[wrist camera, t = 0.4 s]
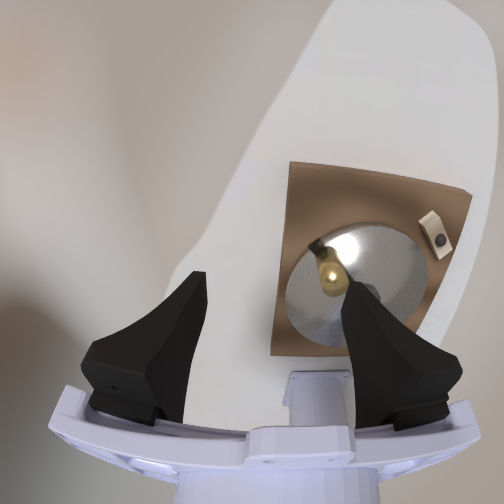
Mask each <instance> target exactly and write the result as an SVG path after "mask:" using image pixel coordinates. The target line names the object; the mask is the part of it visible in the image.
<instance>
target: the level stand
mask: <svg viewBox="0 0 504 504" xmlns="http://www.w3.org/2000/svg"><path fill="white" fill-rule="evenodd" d="M471 200H472V195H471V194H469V193H468V192H466V191H465V190H463V189H459V188H455V187H451V186H447V185H443V184H438V183H434V182H429V181H425V180H420V179H415V178H410V177H405V176H399V175H394V174H388V173H382V172H376V171H370V170H363V169H356V168H348V167H341V166H332V165H323V164H314V163H303V162H291V161H290V165H289V178H288V190H287V201H286V212H285V223H284V233H283V243H282V253H281V262H280V272H279V281H278V289H277V298H276V306H275V315H274V323H273V331H272V338H271V354H270V356H301V357H327V356H350V355H349V351H348V347H332V346H326V345H322V344H318V343H316V342H313V341H311V340H309V339H307V338H306V337H304V336H303V335H301V334H300V333H299V332H298V331H297V330H296V329H295V327H294V326H293V325H292V323H291V321H290V319H289V317H288V313H287V309H286V297H285V291H286V283H287V279H288V276H289V273H290V271H291V269H292V267H293V265H294V263H295V262H296V260H297V259H298V258H299V256H300V255H301V254H302V253H303V252H304V251H305V250H306V249H307V247H308V245H309V244H310V243H312V242H313V241H315V240H316V239H317V238H320V237H322V236H323V235H325V234H326V233H328V232H330V231H332V230H334V229H337V228H340V227H342V226H345V225H349V224H353V223H358V222H381V223H386V224H389V225H392V226H395V227H397V228H399V229H401V230H403V231H404V232H405V233H407V234H408V235H409V236H410V237H411V238H412V239H413V240H414V242H415V243H416V244H417V245H418V247H419V248H420V249H421V251H422V253H423V254H424V256H425V259H426V262H427V267H428V281H427V286H426V290H425V293H424V295H423V298H422V300H421V302H420V304H419V305H418V307H417V308H416V310H415V311H414V312H413V314H412V315H411V316H410V317H409V318H408V319H407V320H406V321H405V322H404V323H403V324H404V325H405V326H406V327H407V328H409V329H410V330H411V331H413V332H414V333H416V332H417V330H418V328H419V326H420V324H421V323H422V321H423V319H424V317H425V315H426V313H427V311H428V309H429V307H430V305H431V303H432V301H433V299H434V297H435V295H436V293H437V291H438V289H439V287H440V285H441V282H442V280H443V278H444V276H445V273H446V271H447V269H448V266H449V264H450V261H451V259H452V256H453V254H454V251H455V249H456V246H457V243H458V240H459V238H460V235H461V232H462V229H463V226H464V223H465V220H466V217H467V213H468V210H469V207H470V203H471Z"/></svg>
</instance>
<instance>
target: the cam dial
mask: <svg viewBox="0 0 504 504" xmlns="http://www.w3.org/2000/svg"><path fill="white" fill-rule="evenodd" d="M350 281H357V282H362V283H363V284H364V285H365V286H366V287H367V288H368V289H369V290H370V292H371V293H372V294H373V295H374V296H375V297H376V298H377V299H378V300H379V301H380V302H381V303H382V304H383V305H384V306H385V307H386V308H387V309H388V310H389V311H390V312H391V313H392V314H393V315H394V316H395V317H396V318H397V319H398V320H399V321H400V322H401V323H404V322H405V321H406V320H407V319H408V318H409V317H410V316H411V315H412V314H413V312H414V311H415V310H416V308H417V307H418V305H419V304H420V302H421V300H422V298H423V295H424V293H425V290H426V286H427V281H428V267H427V262H426V259H425V256H424V254H423V253H422V251H421V249H420V248H419V247H418V245H417V244H416V243H415V242H414V240H413V239H412V238H411V237H410V236H409V235H408V234H407V233H405V232H404V231H403V230H401V229H399V228H397V227H395V226H392V225H389V224H386V223H381V222H358V223H353V224H349V225H345V226H342V227H340V228H337V229H334V230H332V231H330V232H328V233H326V234H325V235H323V236H322V237H320V238H317V239H316V240H315V241H313V242H312V243H310V244H309V245H308V247H307V249H306V250H305V251H304V252H303V253H302V254H301V255H300V256H299V258H298V259H297V260H296V262H295V263H294V265H293V267H292V269H291V271H290V273H289V276H288V279H287V283H286V291H285V297H286V309H287V313H288V317H289V319H290V321H291V323H292V325H293V326H294V327H295V329H296V330H297V331H298V332H299V333H300V334H301V335H303V336H304V337H306V338H307V339H309V340H311V341H313V342H316V343H318V344H322V345H326V346H332V347H347V344H346V340H345V336H344V332H343V328H342V321H341V312H340V311H341V308H342V305H343V302H344V298H345V295H346V292H347V289H348V286H349V282H350Z"/></svg>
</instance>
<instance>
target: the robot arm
mask: <svg viewBox="0 0 504 504" xmlns="http://www.w3.org/2000/svg"><path fill="white" fill-rule="evenodd" d="M207 304H208V301H207V287H206V272H200V271H193V272H192V273H191V274H190V275H189V276H188V277H187V278H186V279H185V280H184V281H183V283H182V284H181V285H180V286H179V287H178V288H177V289H176V290H175V291H174V292H173V293H172V294H171V295H170V296H169V297H168V298H166V299H165V300H164V301H163V302H162V303H161V304H160V305H159V306H157V307H156V308H155V309H154V310H152V311H151V312H150V313H149V314H147V315H146V316H144V317H143V318H141V319H140V320H138V321H137V322H135V323H133V324H132V325H130V326H128V327H126V328H124V329H123V330H120V331H118V332H116V333H114V334H112V335H109V336H107V337H105V338H102V339H99V340H97V341H94V342H93V343H92V345H91V346H90V348H89V349H88V352H87V353H86V356H85V357H84V359H83V361H82V363H81V370H82V372H83V374H84V376H85V377H86V379H87V380H88V382H89V383H90V384H91V386H92V387H93V388H94V391H93V393H92V395H91V394H90V393H88V392H86V391H84V390H81V389H78V388H76V387H73V386H71V385H66V387H65V389H64V391H63V393H62V395H61V397H60V399H59V402H58V404H57V406H56V408H55V410H54V413H53V415H52V417H51V419H50V422H49V424H48V427H49V428H50V429H51V430H52V431H53V432H55V433H56V434H57V435H58V436H60V437H61V438H62V439H63V440H65V441H66V442H67V443H68V444H70V445H71V446H73V447H74V448H76V449H78V450H81V451H83V452H85V453H87V454H90V455H92V456H94V457H97V458H99V459H102V460H104V461H106V462H109V463H112V464H114V465H116V466H119V467H122V468H124V469H127V470H130V471H133V472H136V473H139V474H142V475H145V476H148V477H151V478H154V479H158V480H162V481H165V482H169V483H173V484H177V487H176V493H175V499H174V504H380V496H379V486H378V483H379V482H383V481H386V480H390V479H393V478H397V477H400V476H403V475H406V474H409V473H412V472H415V471H418V470H421V469H423V468H426V467H429V466H431V465H434V464H437V463H439V462H442V461H444V460H447V459H449V458H452V457H454V456H455V455H457V454H458V453H460V452H461V451H463V450H464V449H466V448H467V447H469V446H470V445H472V444H473V443H475V442H476V441H477V440H479V439H480V438H481V434H480V431H479V428H478V425H477V422H476V419H475V416H474V413H473V410H472V408H471V405H470V402H469V400H468V399H465V400H462V401H458V402H455V403H452V404H451V405H449V406H448V405H447V402H446V401H448V399H449V396H448V392H449V391H450V390H451V388H452V387H453V386H454V385H455V384H456V383H457V381H458V380H459V379H460V377H461V375H462V373H463V370H462V367H461V365H460V363H459V361H458V359H457V357H456V356H454V355H452V354H450V353H448V352H445V351H443V350H441V349H439V348H438V347H436V346H434V345H432V344H430V343H429V342H427V341H426V340H424V339H423V338H421V337H420V336H418V335H417V334H415V333H414V332H413V331H411V330H410V329H409V328H407V327H406V326H405V325H404V324H403V323H401V322H400V321H399V320H398V319H397V318H396V317H395V316H394V315H393V314H392V313H391V312H390V311H389V310H388V309H387V308H386V307H385V306H384V305H383V304H382V303H381V302H380V301H379V300H378V299H377V298H376V297H375V296H374V295H373V294H372V293H371V292H370V290H369V289H368V288H367V287H366V286H365V285H364V284H363V283H362V282H357V281H350V282H349V286H348V289H347V292H346V295H345V298H344V302H343V305H342V308H341V311H340V312H341V321H342V328H343V332H344V336H345V340H346V344H347V347H348V351H349V355H350V359H351V364H352V369H353V377H354V387H355V403H356V426H355V429H353V428H351V427H349V426H348V425H347V418H346V411H345V404H344V398H343V392H342V389H343V387H344V385H345V383H346V381H347V380H348V378H349V376H350V371H332V372H292V373H291V374H290V378H289V382H288V385H287V389H286V393H285V396H284V400H283V406H289V421H290V426H262V427H259V428H255V429H252V430H251V431H250V432H247V431H234V430H224V429H215V428H207V427H200V426H194V425H188V424H182V423H183V414H184V406H185V399H186V392H187V385H188V379H189V374H190V368H191V363H192V359H193V355H194V352H195V349H196V346H197V343H198V339H199V336H200V333H201V330H202V327H203V324H204V320H205V315H206V310H207Z"/></svg>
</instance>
